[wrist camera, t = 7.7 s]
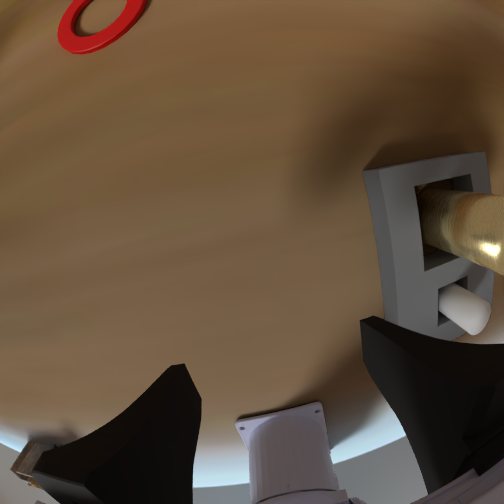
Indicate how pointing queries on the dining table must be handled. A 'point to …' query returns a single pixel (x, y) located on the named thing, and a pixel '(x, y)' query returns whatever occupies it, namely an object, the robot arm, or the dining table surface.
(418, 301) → the grey holder block
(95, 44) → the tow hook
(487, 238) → the cylinder
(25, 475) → the ruin model on sheet
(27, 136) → the dining table surface
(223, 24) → the dining table surface
